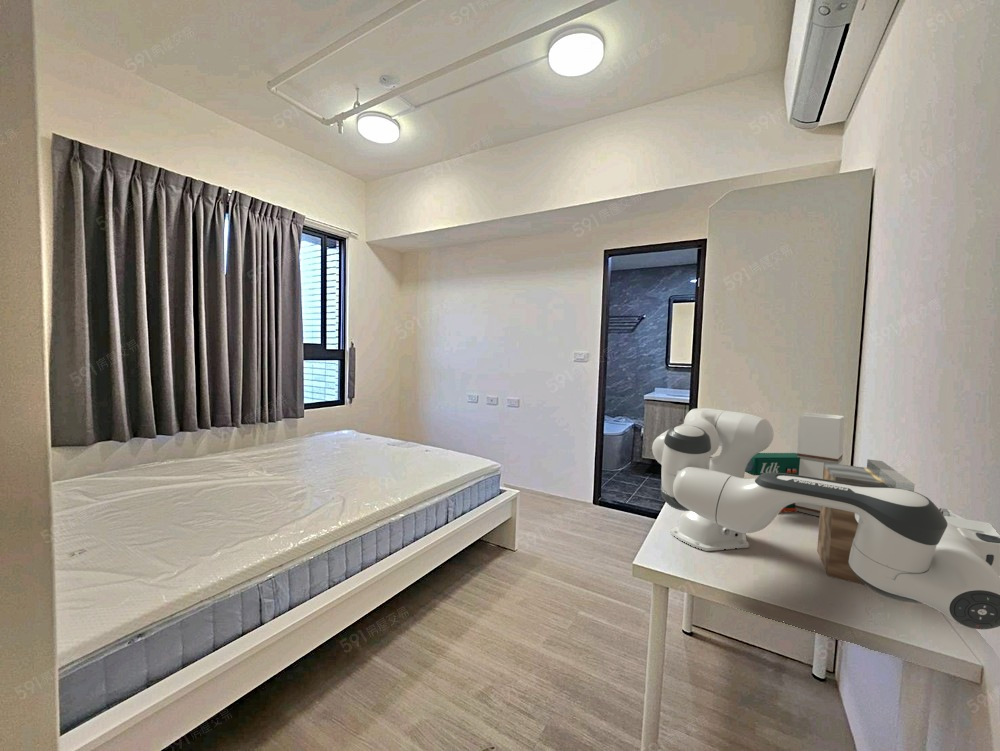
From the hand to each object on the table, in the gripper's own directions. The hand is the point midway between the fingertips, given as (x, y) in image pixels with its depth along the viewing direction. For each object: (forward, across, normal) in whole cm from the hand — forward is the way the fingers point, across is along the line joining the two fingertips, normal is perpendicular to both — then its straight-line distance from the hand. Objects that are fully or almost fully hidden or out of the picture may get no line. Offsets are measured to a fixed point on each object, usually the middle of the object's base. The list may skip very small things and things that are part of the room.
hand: (911, 506), depth 85 cm
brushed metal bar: (+18, +1, -3) cm, 19 cm away
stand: (+18, -3, -30) cm, 35 cm away
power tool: (+54, -22, -38) cm, 70 cm away
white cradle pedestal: (+62, -4, -40) cm, 74 cm away
